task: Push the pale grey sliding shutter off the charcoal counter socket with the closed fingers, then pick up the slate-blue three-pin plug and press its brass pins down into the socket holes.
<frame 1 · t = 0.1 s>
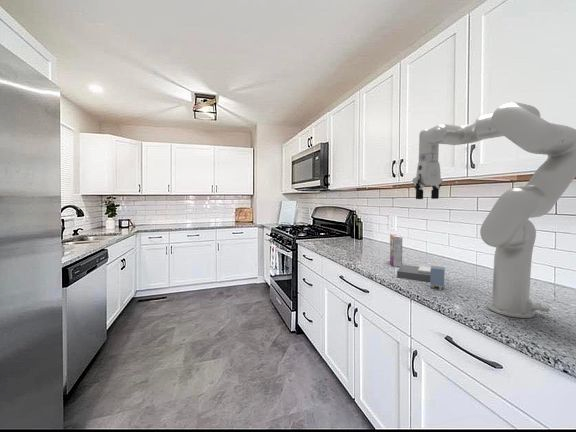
hand: (427, 198, 119), 37 cm above the countertop, tool pointing down, fingers open, 9 cm apart
socket: (417, 276, 132), on the countertop
candy bar box: (395, 265, 154), on the countertop
plug: (437, 287, 115), on the countertop
shutter: (427, 268, 129), point 4 cm above the countertop, slide at 0.0 cm
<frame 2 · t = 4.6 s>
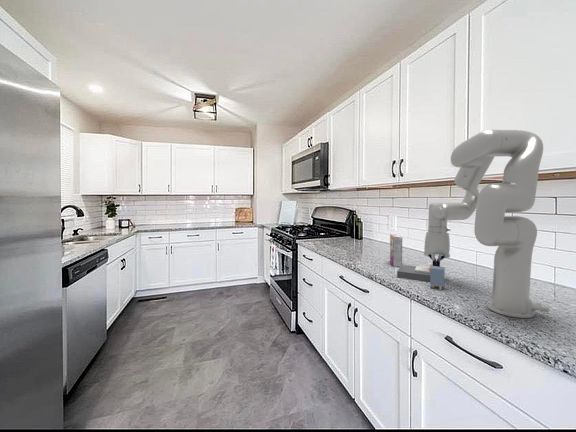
hand: (436, 268, 128), 4 cm above the countertop, tool pointing down, fingers closed
shutter: (424, 268, 130), point 4 cm above the countertop, slide at 1.4 cm, touching gripper
everything else where it was.
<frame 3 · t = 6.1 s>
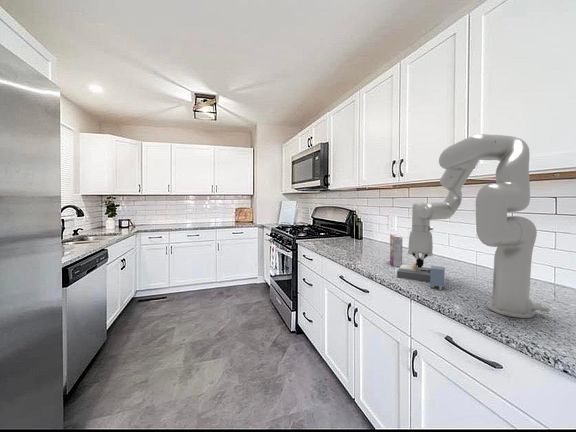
hand: (419, 267, 131), 4 cm above the countertop, tool pointing down, fingers closed
shutter: (408, 266, 134), point 4 cm above the countertop, slide at 8.3 cm, touching gripper
everything else where it was.
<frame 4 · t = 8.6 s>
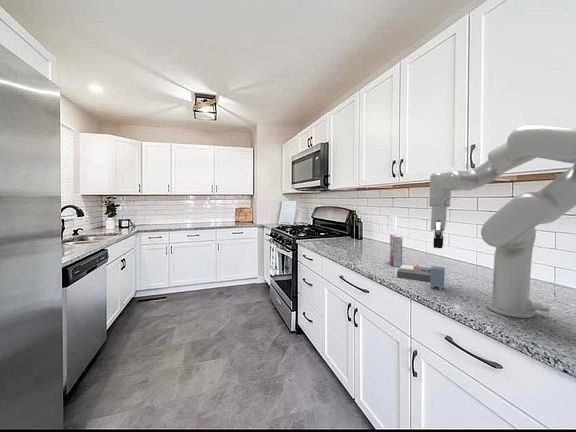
hand: (438, 246, 114), 18 cm above the countertop, tool pointing down, fingers open, 6 cm apart
shutter: (408, 266, 134), point 4 cm above the countertop, slide at 8.1 cm
everything else where it was.
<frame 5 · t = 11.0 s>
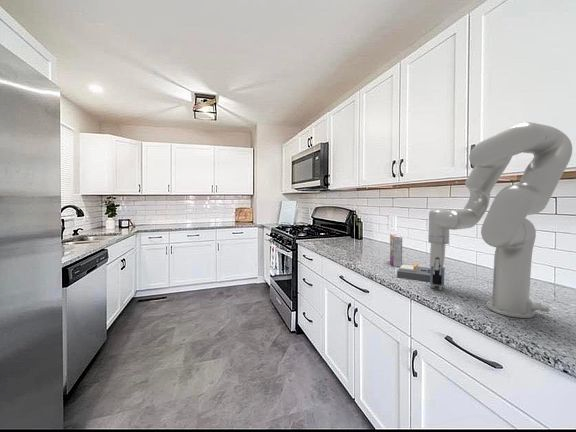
hand: (437, 282, 115), 2 cm above the countertop, tool pointing down, fingers closed on plug, 4 cm apart
plug: (437, 287, 115), on the countertop, touching gripper
everything else where it was.
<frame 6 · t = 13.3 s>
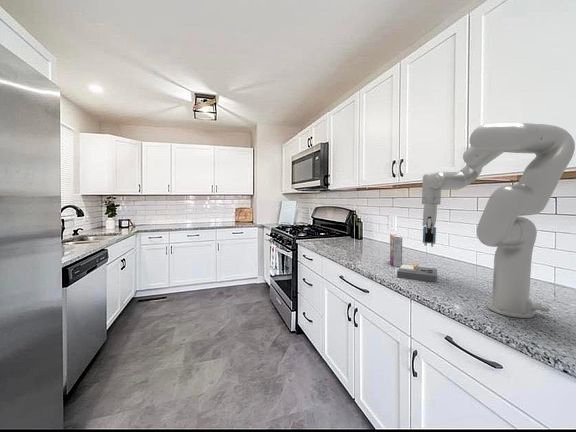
hand: (429, 240, 125), 18 cm above the countertop, tool pointing down, fingers closed on plug, 4 cm apart
plug: (428, 245, 125), point 16 cm above the countertop, touching gripper
everything else where it was.
when the fingers open (4 cm above the countertop, at t = 15.9 s): plug stays where it is, resting on socket.
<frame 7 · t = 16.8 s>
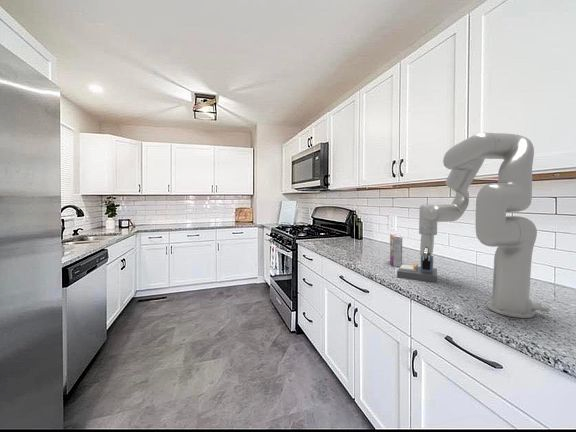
hand: (427, 267, 129), 5 cm above the countertop, tool pointing down, fingers open, 9 cm apart
plug: (426, 274, 130), point 1 cm above the countertop, touching socket
everything else where it was.
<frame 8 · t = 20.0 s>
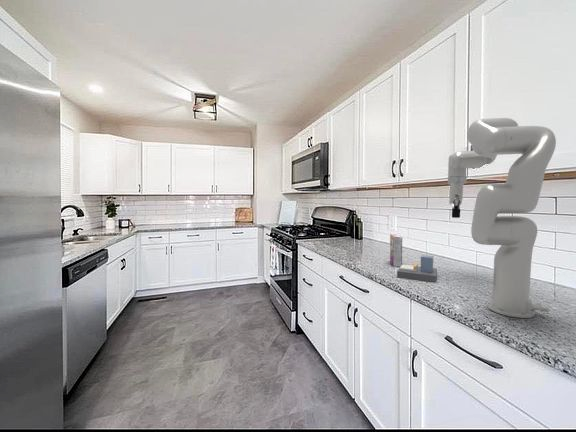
hand: (455, 216, 131), 28 cm above the countertop, tool pointing down, fingers open, 9 cm apart
nothing on the countertop moved.
at the end: plug 0.1 cm from the target spot on the socket, point 1.5 cm above the socket's base; shutter slide at 8.1 cm; the gripper is holding nothing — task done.
